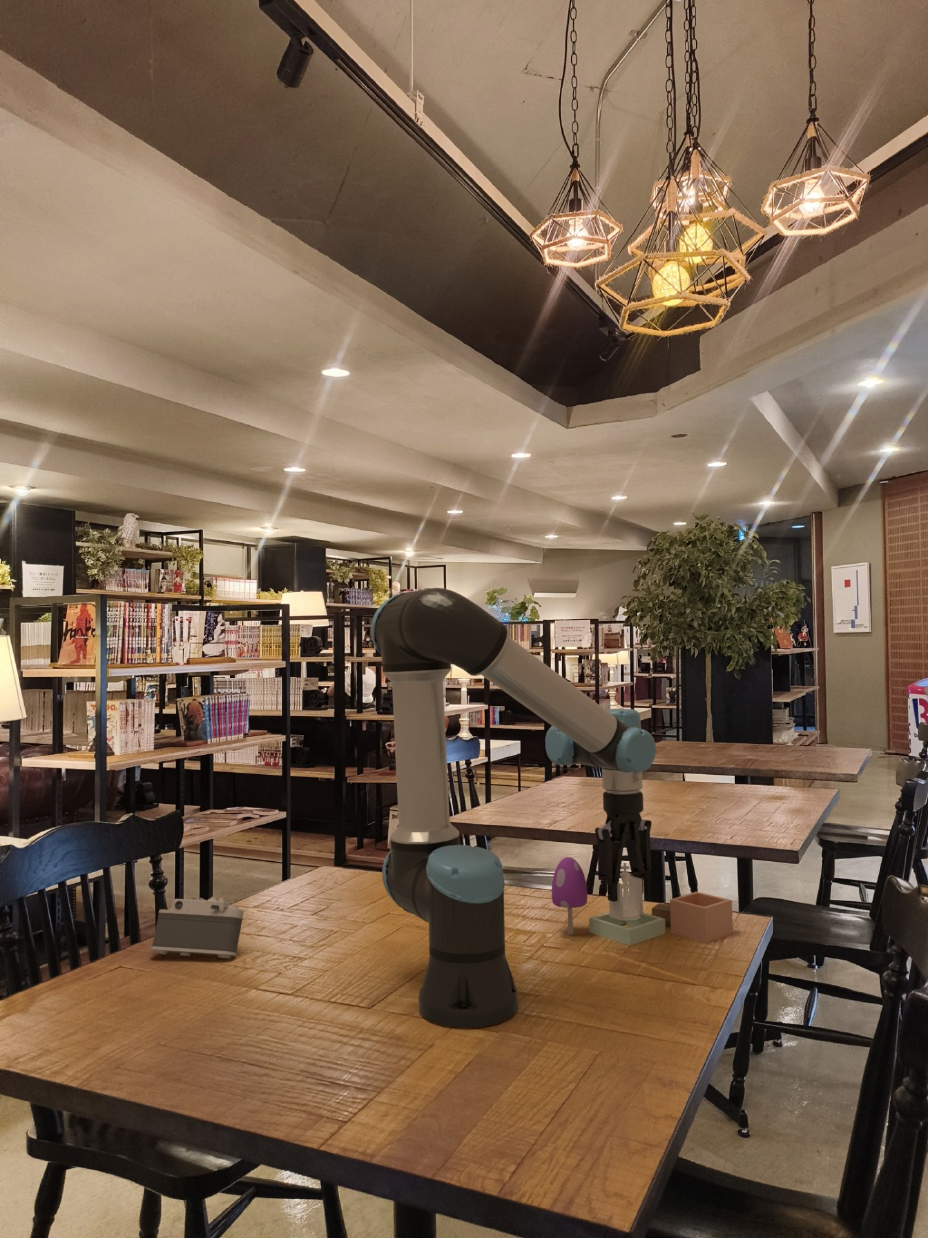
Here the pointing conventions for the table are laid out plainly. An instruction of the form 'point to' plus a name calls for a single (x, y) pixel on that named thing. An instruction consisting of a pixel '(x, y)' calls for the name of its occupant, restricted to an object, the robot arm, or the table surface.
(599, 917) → the green tray
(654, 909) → the walnut block
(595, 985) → the table surface
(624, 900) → the chess piece
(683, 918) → the square terracotta box
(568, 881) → the toy
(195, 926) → the camera
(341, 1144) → the table surface
